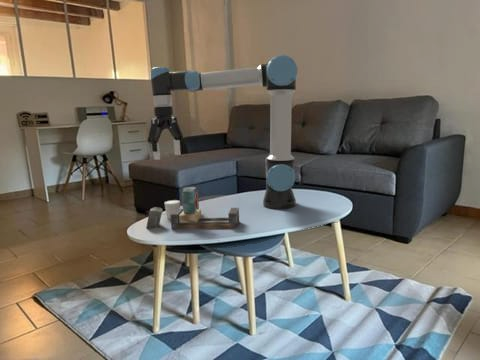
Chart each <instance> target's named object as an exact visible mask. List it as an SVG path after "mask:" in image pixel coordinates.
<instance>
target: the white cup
mask: <svg viewBox="0 0 480 360" xmlns="http://www.w3.org/2000/svg"><path fill="white" fill-rule="evenodd" d="M164 209H165V213H166V218H167V219H168V220H171V217H170V214H171V213H172V212H173V211H174V210H175V209H181V201H180V200H177V199H172V200H167V201H164Z"/></svg>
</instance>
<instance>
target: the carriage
mask: <svg viewBox="0 0 480 360" xmlns="http://www.w3.org/2000/svg"><path fill="white" fill-rule="evenodd" d="M182 195H183V203H182V208H183V207H184V211H183V212H182V213H181V214H180V215H179V221H180V223H196V222H198V221H199V219H200V218H203V217H202V209H201V208H199V209H196V200H195V189H185V190H184V191H183V190H182V191H181V196H182Z"/></svg>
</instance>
